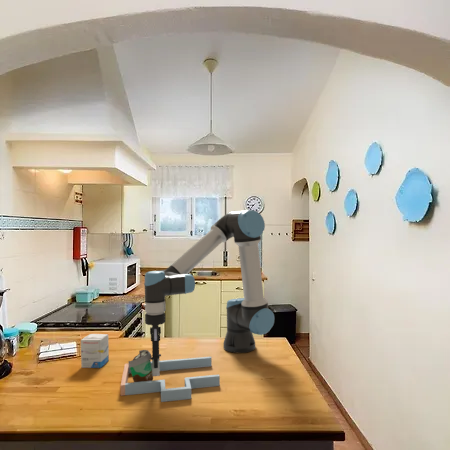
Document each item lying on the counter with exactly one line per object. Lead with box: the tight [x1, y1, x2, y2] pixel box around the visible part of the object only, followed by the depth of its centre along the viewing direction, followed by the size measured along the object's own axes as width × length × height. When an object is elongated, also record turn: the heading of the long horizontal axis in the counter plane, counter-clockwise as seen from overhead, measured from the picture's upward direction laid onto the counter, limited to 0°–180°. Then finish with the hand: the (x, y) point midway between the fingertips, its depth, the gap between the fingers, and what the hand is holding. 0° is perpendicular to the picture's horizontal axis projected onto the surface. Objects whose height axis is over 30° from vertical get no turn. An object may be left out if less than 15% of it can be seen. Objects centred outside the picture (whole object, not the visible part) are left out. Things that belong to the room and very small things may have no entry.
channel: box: [120, 356, 221, 403], centre depth 133 cm, size 34×28×4 cm
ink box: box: [80, 333, 110, 369], centre depth 153 cm, size 9×8×12 cm
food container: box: [127, 349, 154, 382], centre depth 134 cm, size 12×6×10 cm, turn 174°
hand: (155, 375), depth 136 cm, fingers closed
